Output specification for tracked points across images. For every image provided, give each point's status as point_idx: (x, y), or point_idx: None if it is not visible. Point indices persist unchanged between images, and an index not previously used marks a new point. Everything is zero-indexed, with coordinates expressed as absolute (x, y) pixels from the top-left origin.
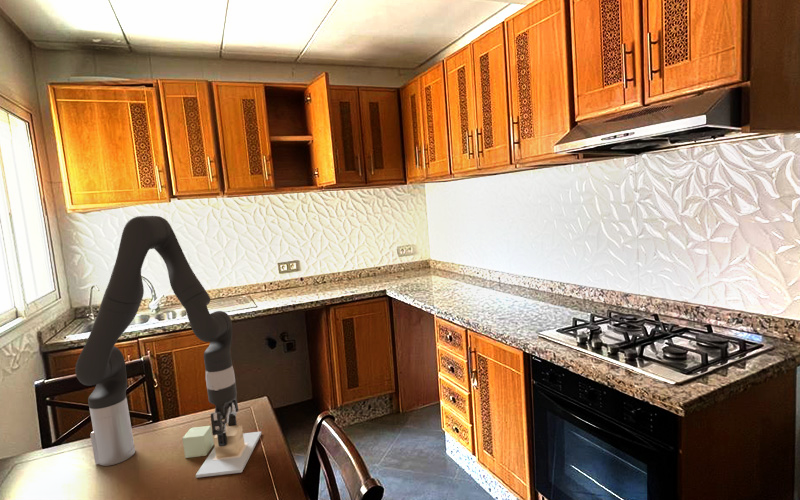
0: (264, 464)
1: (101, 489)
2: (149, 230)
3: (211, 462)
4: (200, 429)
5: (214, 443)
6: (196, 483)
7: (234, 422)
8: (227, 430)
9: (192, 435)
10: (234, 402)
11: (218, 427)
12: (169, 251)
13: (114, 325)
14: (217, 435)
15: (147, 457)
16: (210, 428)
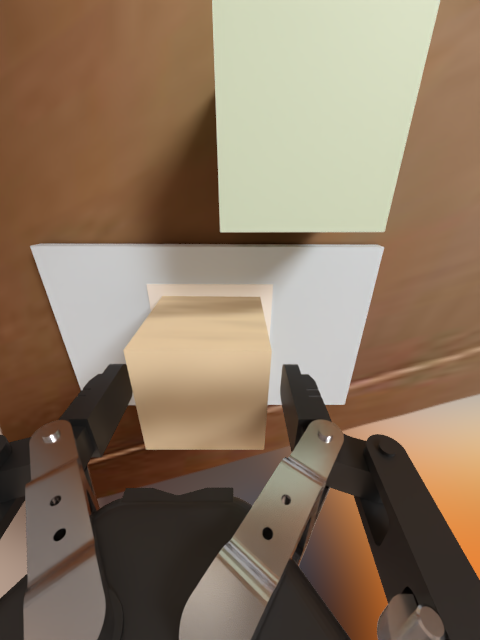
0: (141, 439)
1: None
2: None
3: (130, 284)
4: (346, 152)
5: (138, 330)
6: (11, 259)
7: (287, 425)
8: (211, 401)
9: (247, 110)
10: (389, 587)
11: (64, 463)
12: None
13: None
14: (76, 410)
15: None
16: (356, 230)
